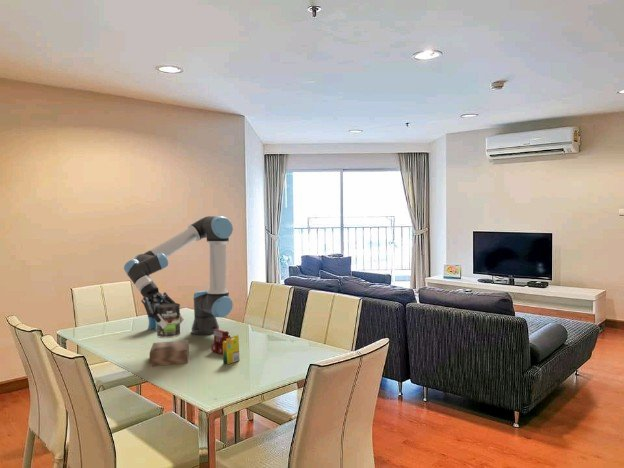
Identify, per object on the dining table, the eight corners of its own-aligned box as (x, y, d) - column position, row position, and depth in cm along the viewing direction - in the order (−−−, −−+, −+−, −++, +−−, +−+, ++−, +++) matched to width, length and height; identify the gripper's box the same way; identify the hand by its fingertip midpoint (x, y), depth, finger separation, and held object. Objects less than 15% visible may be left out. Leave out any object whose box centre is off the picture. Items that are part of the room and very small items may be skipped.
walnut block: (188, 352, 222) (188, 340, 222) (187, 363, 206) (187, 349, 206) (153, 355, 218) (153, 342, 218) (149, 366, 203) (149, 352, 202)
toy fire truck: (225, 356, 215) (225, 334, 215) (209, 351, 223) (208, 330, 222) (237, 352, 220) (236, 331, 220) (220, 348, 228) (219, 327, 228)
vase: (167, 327, 270) (166, 293, 269) (156, 330, 264) (155, 296, 263) (158, 326, 275) (157, 292, 274) (147, 329, 268) (146, 295, 267)
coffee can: (182, 336, 209) (181, 305, 208) (158, 339, 205) (157, 308, 204) (178, 331, 218) (178, 301, 218) (156, 334, 214) (155, 303, 214)
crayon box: (235, 359, 211) (234, 333, 210) (239, 360, 209) (239, 334, 208) (222, 363, 205) (222, 337, 204) (227, 364, 203) (226, 338, 202)
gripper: (161, 289, 228) (186, 323, 221) (123, 296, 208) (150, 335, 201) (168, 278, 225) (194, 313, 219) (131, 285, 205) (159, 324, 199)
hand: (173, 324), depth 210 cm, fingers closed on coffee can, 10 cm apart
